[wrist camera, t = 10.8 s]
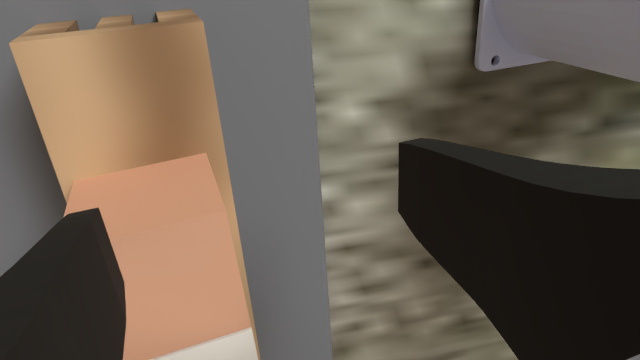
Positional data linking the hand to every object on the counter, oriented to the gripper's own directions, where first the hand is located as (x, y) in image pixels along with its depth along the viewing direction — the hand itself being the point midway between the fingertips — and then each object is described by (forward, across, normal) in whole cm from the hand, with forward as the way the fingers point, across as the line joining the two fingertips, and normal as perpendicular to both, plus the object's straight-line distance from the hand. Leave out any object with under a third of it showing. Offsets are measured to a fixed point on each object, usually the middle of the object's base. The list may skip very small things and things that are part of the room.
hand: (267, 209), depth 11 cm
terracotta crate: (+5, +3, +2) cm, 6 cm away
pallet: (+9, +3, +5) cm, 11 cm away
